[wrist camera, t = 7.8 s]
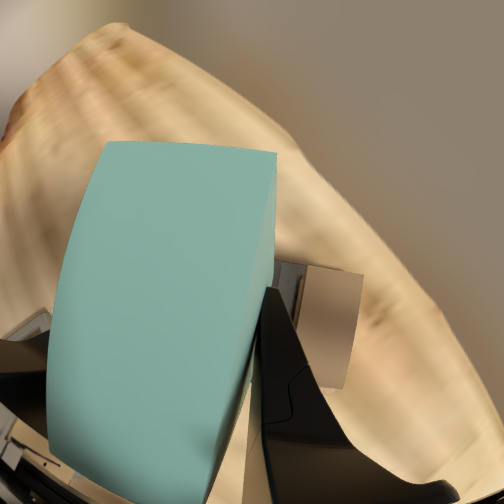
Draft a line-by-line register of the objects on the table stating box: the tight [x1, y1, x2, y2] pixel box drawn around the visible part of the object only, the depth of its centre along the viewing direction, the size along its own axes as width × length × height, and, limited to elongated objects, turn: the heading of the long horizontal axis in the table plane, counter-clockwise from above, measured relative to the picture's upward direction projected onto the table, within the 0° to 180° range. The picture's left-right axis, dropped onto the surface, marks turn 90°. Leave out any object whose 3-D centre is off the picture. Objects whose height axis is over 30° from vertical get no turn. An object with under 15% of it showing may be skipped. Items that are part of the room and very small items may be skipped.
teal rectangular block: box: [46, 141, 277, 504], centre depth 9 cm, size 6×3×12 cm, turn 168°
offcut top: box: [295, 265, 364, 389], centre depth 17 cm, size 8×4×1 cm, turn 169°
